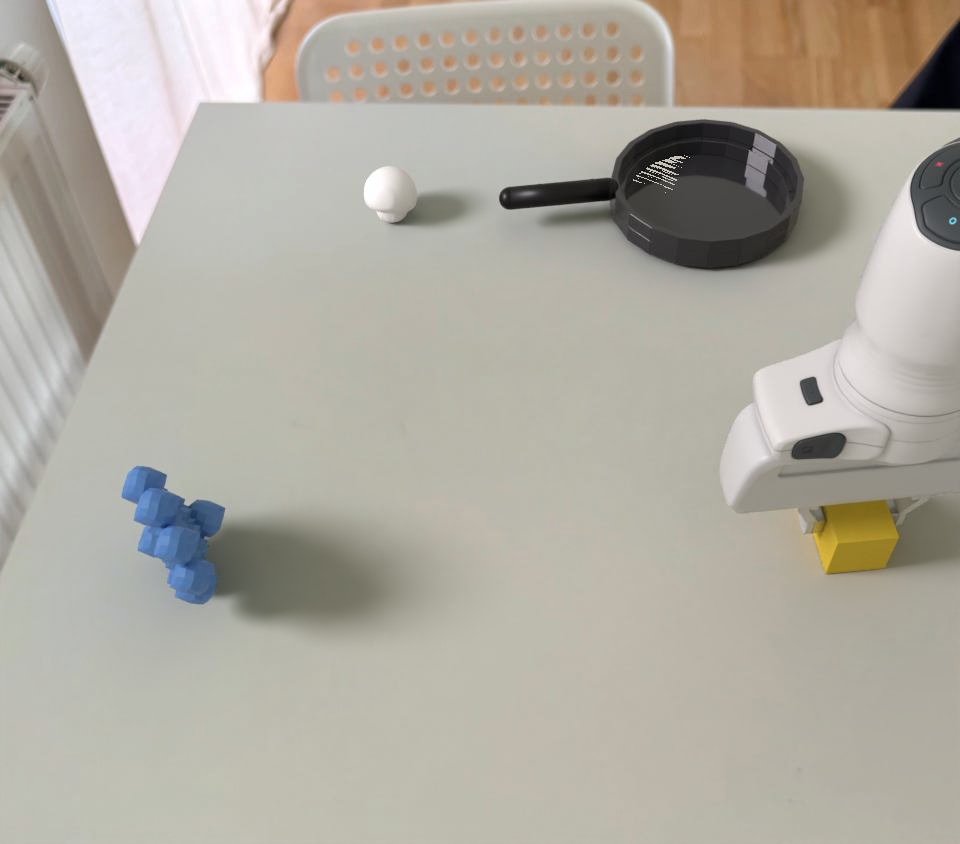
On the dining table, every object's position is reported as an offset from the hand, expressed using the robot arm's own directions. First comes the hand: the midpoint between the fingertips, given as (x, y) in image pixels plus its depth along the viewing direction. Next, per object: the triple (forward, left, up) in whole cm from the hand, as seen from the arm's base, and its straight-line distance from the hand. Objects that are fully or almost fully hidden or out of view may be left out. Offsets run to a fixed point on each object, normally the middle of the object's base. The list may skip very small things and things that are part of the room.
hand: (848, 522), depth 81 cm
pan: (+3, -38, -2) cm, 38 cm away
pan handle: (+17, -38, +1) cm, 41 cm away
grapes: (+48, -2, -2) cm, 48 cm away
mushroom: (+32, -41, -2) cm, 52 cm away
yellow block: (0, 0, -2) cm, 2 cm away
